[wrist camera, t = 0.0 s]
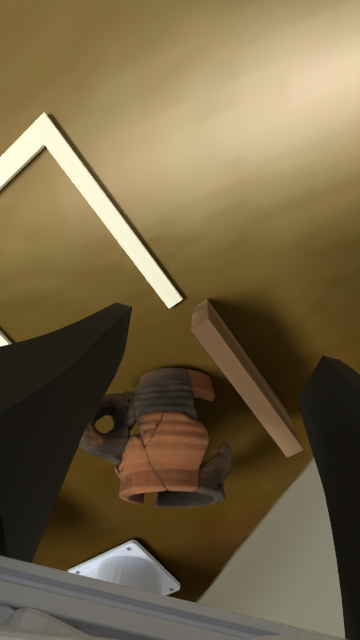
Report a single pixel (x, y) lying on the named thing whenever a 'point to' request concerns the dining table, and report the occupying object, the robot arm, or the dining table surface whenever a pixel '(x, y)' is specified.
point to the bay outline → (50, 136)
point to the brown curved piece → (161, 440)
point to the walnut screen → (244, 376)
